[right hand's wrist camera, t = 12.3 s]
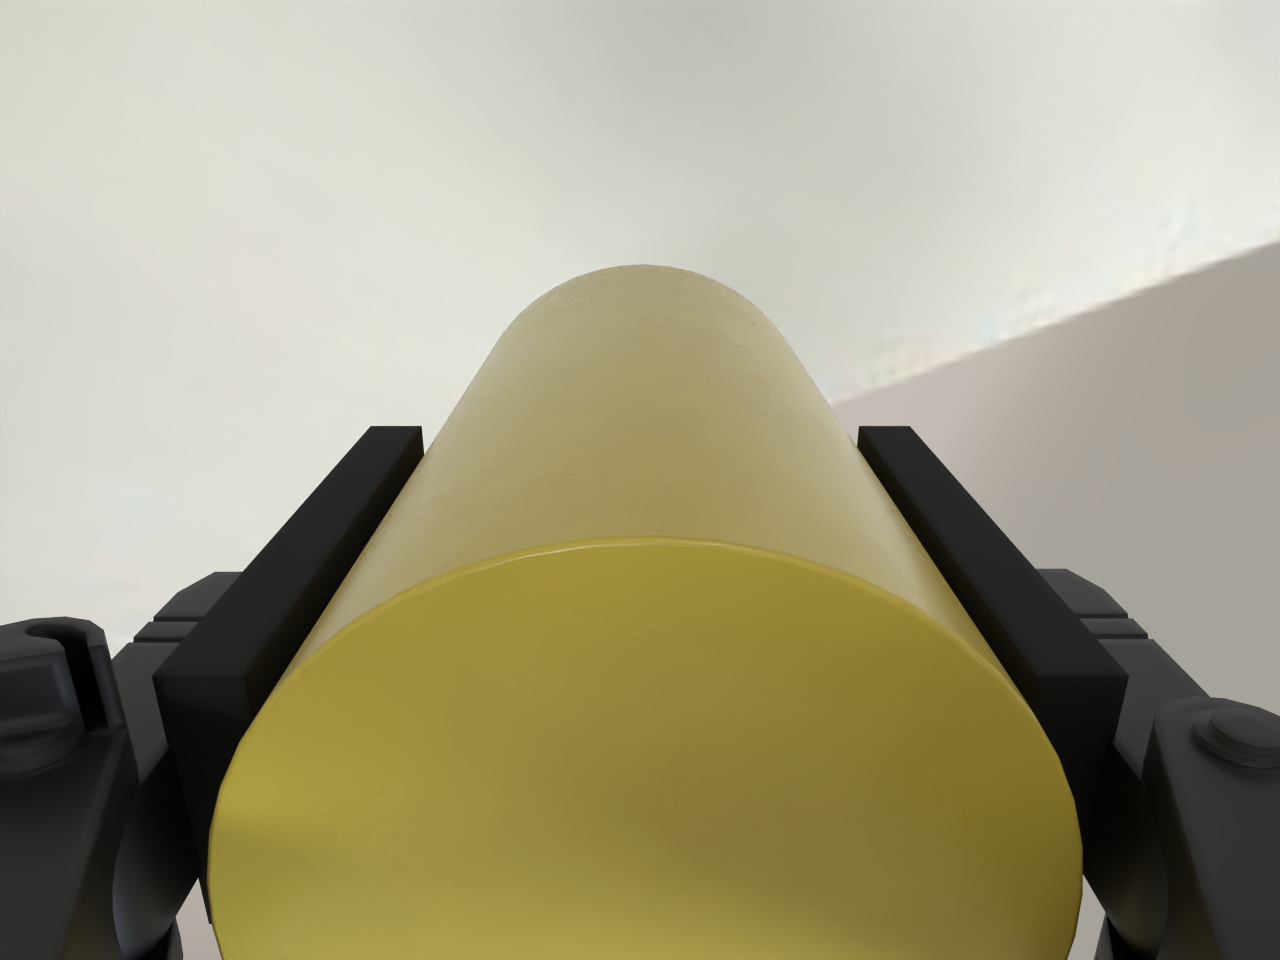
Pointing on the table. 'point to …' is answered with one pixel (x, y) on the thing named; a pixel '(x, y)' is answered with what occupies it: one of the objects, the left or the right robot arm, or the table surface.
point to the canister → (644, 686)
